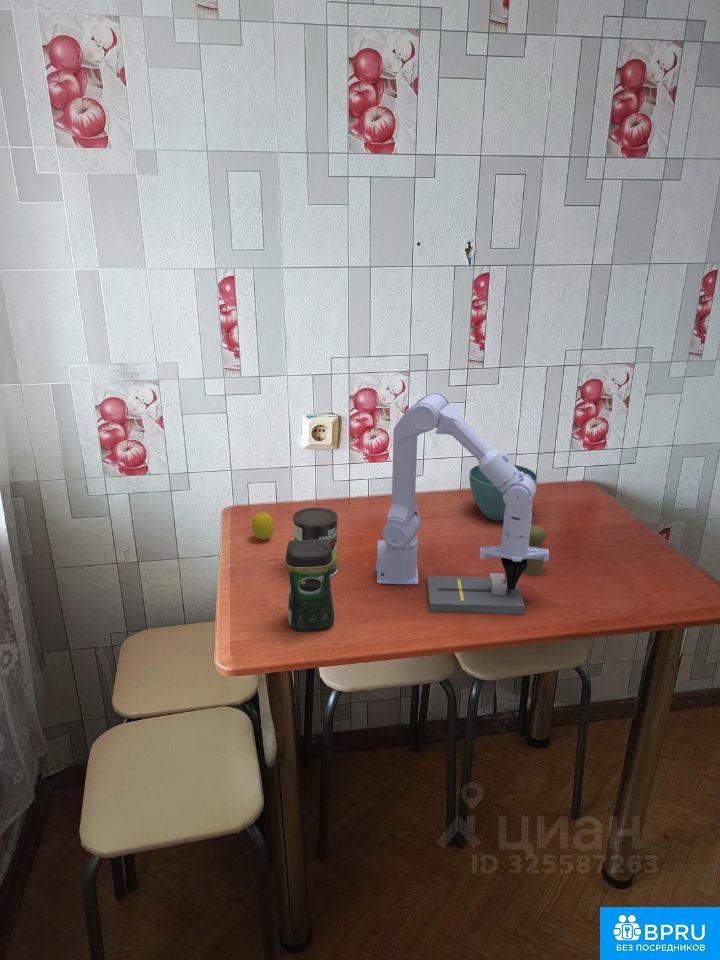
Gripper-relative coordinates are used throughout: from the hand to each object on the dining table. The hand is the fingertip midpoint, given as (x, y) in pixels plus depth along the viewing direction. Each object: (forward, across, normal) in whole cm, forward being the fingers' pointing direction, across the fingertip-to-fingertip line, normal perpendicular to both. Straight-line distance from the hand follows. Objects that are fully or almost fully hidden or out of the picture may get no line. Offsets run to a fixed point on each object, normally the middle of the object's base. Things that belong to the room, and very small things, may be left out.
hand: (510, 587), depth 158 cm
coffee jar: (+3, -43, -11) cm, 44 cm away
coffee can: (+3, -44, +11) cm, 45 cm away
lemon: (+3, -59, +26) cm, 64 cm away
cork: (+3, +7, +14) cm, 16 cm away
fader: (+1, -3, 0) cm, 3 cm away
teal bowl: (+3, +4, +45) cm, 45 cm away
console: (+3, -8, 0) cm, 8 cm away
